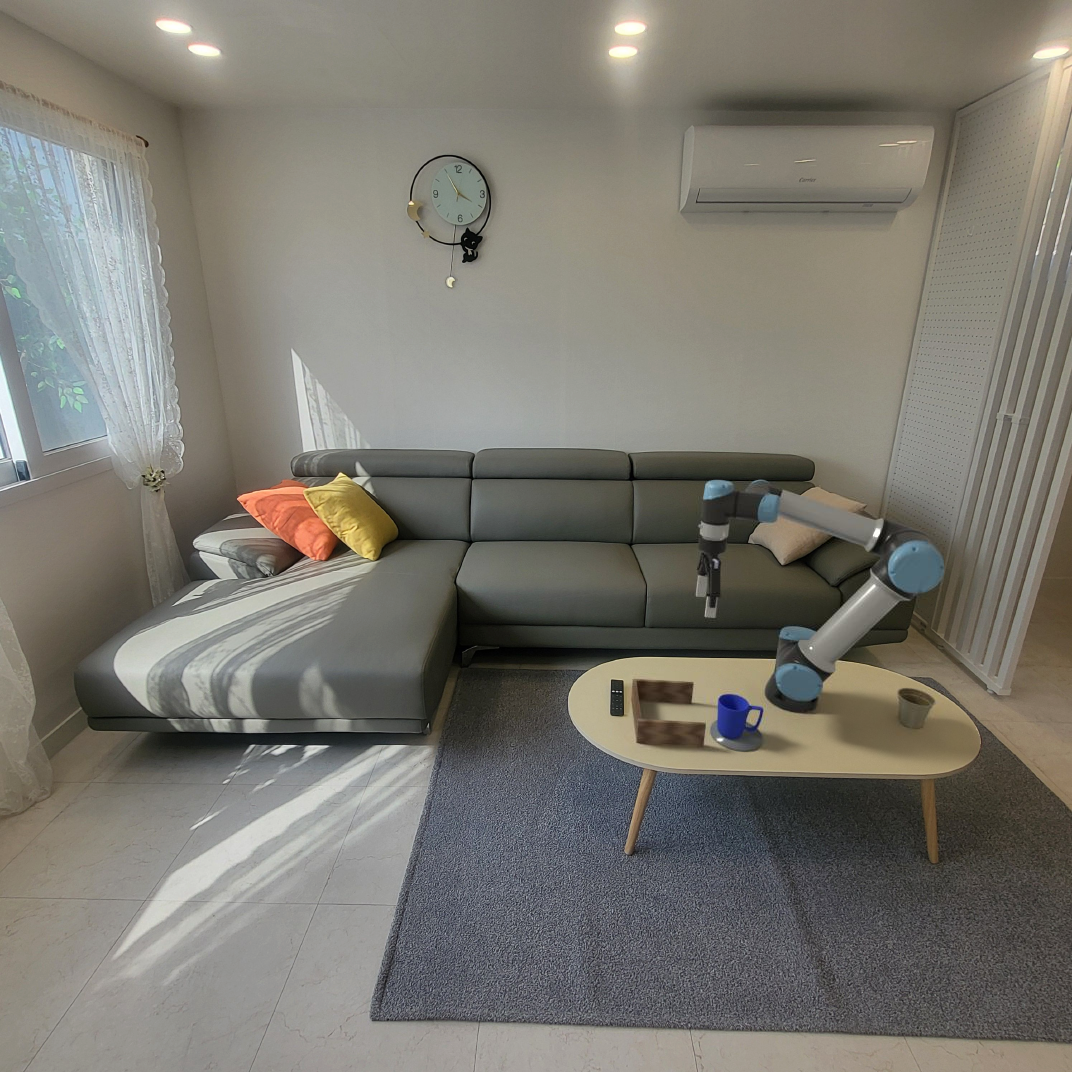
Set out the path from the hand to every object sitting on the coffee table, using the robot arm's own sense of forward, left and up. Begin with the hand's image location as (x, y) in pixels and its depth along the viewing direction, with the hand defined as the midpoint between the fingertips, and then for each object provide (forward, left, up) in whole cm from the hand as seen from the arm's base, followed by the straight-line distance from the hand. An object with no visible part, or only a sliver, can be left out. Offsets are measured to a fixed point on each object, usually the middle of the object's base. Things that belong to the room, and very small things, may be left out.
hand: (705, 606), depth 175 cm
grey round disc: (-9, +16, -32) cm, 36 cm away
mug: (-9, +16, -31) cm, 36 cm away
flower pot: (-61, +5, -32) cm, 69 cm away
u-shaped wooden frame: (+10, +11, -32) cm, 35 cm away
